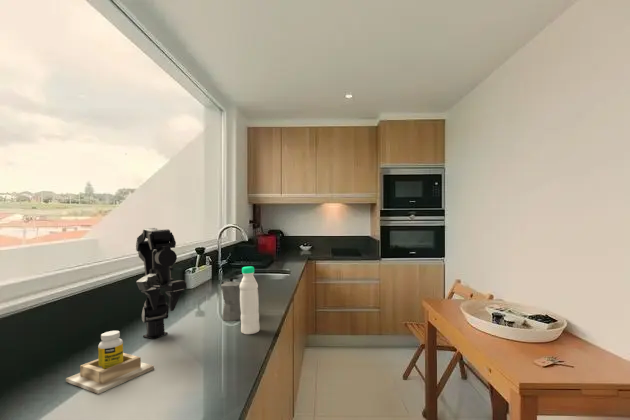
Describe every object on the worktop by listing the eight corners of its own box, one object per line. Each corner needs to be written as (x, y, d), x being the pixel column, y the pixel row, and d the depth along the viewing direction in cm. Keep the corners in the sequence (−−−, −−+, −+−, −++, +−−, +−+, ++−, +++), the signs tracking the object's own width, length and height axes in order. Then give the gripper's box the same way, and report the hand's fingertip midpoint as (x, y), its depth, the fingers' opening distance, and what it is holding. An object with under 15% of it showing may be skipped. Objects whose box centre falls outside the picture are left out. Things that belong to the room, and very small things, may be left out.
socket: (66, 381, 97) (65, 367, 97) (121, 360, 111) (121, 347, 111) (98, 394, 89) (97, 378, 89) (153, 369, 103) (153, 355, 103)
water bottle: (242, 329, 137) (239, 266, 137) (260, 328, 137) (257, 265, 138) (239, 335, 130) (237, 268, 130) (258, 334, 130) (256, 267, 131)
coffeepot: (249, 318, 152) (248, 277, 152) (230, 323, 146) (229, 280, 146) (231, 312, 163) (230, 274, 164) (213, 316, 157) (211, 277, 157)
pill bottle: (104, 378, 96) (102, 338, 96) (95, 372, 100) (94, 334, 100) (127, 370, 101) (126, 331, 101) (118, 365, 104) (117, 328, 105)
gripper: (123, 268, 119) (124, 314, 119) (158, 268, 110) (160, 317, 109) (152, 264, 129) (154, 306, 128) (186, 263, 120) (188, 309, 119)
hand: (163, 310), depth 121 cm, fingers open, 9 cm apart
